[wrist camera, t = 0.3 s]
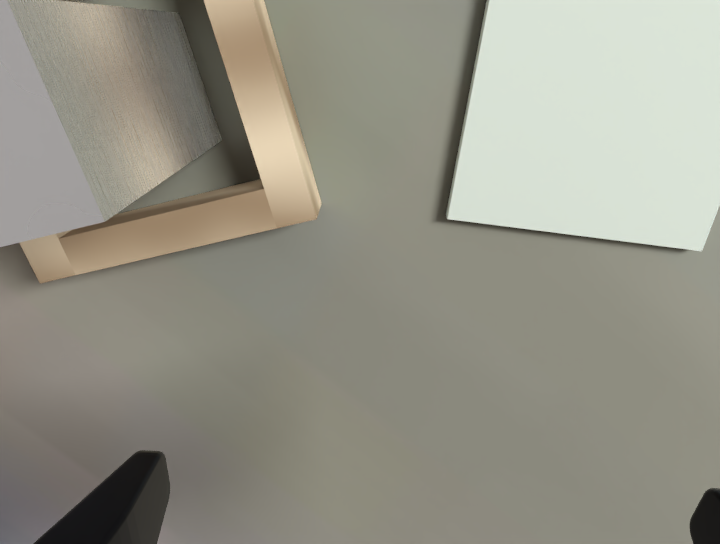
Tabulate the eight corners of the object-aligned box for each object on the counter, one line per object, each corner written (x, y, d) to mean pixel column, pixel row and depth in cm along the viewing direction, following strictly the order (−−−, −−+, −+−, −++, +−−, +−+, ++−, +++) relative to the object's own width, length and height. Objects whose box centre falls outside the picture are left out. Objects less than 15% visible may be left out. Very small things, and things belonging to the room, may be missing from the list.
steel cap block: (222, 140, 21) (104, 222, 12) (100, 171, 22) (-100, 271, 13) (179, 13, 20) (4, -5, 10) (48, 50, 20) (-226, 64, 11)
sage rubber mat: (695, 246, 22) (701, 251, 22) (446, 215, 22) (447, 219, 22) (803, -38, 18) (813, -40, 18) (501, -80, 18) (505, -83, 18)
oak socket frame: (321, 203, 22) (316, 219, 20) (66, 263, 23) (39, 283, 22) (229, -121, 18) (212, -139, 16) (-74, -27, 19) (-121, -33, 17)
